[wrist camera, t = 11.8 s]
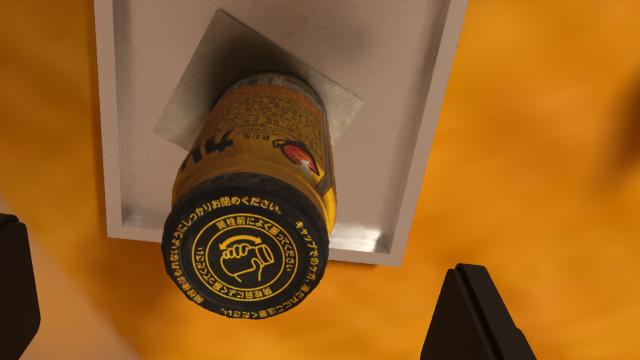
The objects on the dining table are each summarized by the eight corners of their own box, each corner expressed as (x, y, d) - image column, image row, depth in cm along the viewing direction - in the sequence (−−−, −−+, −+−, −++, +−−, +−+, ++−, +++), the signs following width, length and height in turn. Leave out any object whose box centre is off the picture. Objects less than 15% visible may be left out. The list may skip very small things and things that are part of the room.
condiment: (291, 205, 28) (280, 372, 17) (153, 130, 26) (41, 266, 15) (364, 100, 25) (407, 218, 14) (218, 7, 23) (140, 63, 12)
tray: (104, -103, 21) (87, -107, 20) (467, -46, 23) (480, -45, 21) (118, 220, 29) (107, 237, 27) (395, 249, 30) (400, 267, 28)
